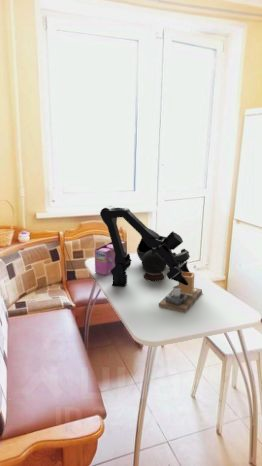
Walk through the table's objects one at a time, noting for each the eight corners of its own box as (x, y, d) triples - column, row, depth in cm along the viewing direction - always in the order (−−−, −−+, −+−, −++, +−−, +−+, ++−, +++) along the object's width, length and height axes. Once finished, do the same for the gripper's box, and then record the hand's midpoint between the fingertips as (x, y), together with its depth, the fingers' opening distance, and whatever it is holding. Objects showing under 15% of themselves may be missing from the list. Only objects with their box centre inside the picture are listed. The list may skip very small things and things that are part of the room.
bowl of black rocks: (132, 261, 199) (132, 231, 194) (163, 258, 205) (163, 229, 200) (143, 273, 180) (143, 240, 176) (176, 269, 186) (178, 237, 181)
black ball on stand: (169, 281, 170) (170, 253, 166) (144, 283, 167) (145, 254, 164) (162, 272, 182) (162, 245, 179) (138, 273, 180) (139, 247, 176)
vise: (165, 301, 143) (166, 287, 142) (178, 294, 150) (178, 281, 149) (178, 306, 139) (179, 292, 138) (190, 298, 146) (191, 285, 145)
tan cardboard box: (178, 292, 153) (178, 275, 151) (181, 287, 158) (181, 271, 156) (191, 293, 151) (192, 277, 149) (193, 288, 156) (194, 272, 154)
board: (185, 312, 137) (185, 309, 136) (158, 306, 142) (158, 302, 142) (201, 292, 156) (202, 288, 156) (177, 287, 162) (177, 284, 162)
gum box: (117, 260, 201) (117, 239, 198) (128, 262, 197) (128, 240, 194) (94, 273, 181) (94, 249, 177) (107, 275, 177) (106, 251, 174)
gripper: (174, 250, 142) (199, 278, 141) (183, 240, 159) (205, 264, 158) (156, 266, 147) (180, 292, 146) (167, 253, 164) (188, 277, 163)
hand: (189, 281), depth 153 cm, fingers open, 9 cm apart
